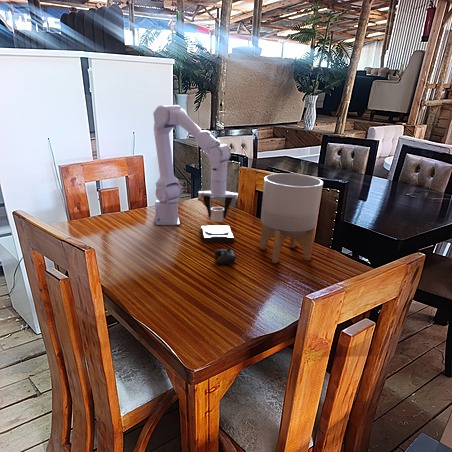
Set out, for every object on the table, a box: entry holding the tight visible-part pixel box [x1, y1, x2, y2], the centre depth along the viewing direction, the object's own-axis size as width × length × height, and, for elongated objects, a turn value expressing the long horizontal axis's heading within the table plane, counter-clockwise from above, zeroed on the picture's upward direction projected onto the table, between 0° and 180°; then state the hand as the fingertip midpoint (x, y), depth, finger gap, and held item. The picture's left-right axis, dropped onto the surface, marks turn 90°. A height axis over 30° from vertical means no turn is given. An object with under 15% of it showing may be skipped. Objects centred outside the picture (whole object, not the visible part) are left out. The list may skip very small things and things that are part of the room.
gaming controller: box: [214, 247, 236, 266], centre depth 134 cm, size 10×5×6 cm
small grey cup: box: [209, 206, 225, 223], centre depth 151 cm, size 5×5×4 cm
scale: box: [201, 224, 235, 244], centre depth 154 cm, size 11×13×2 cm
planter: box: [259, 172, 324, 264], centre depth 135 cm, size 19×19×26 cm
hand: (217, 216), depth 151 cm, fingers closed on small grey cup, 5 cm apart
